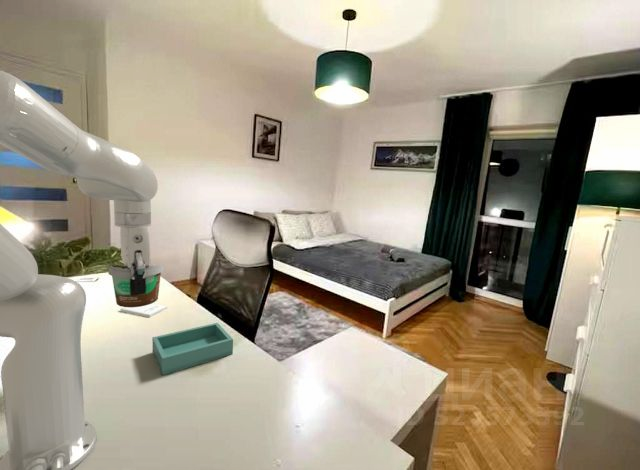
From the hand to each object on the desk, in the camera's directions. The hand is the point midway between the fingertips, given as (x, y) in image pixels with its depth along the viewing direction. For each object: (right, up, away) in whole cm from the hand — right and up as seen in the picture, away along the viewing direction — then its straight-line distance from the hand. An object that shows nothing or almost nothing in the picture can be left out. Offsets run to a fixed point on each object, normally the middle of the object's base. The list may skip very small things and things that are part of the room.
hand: (134, 288), depth 76 cm
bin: (+11, -20, +9) cm, 24 cm away
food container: (0, -4, 0) cm, 4 cm away
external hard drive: (-17, -14, +33) cm, 40 cm away
